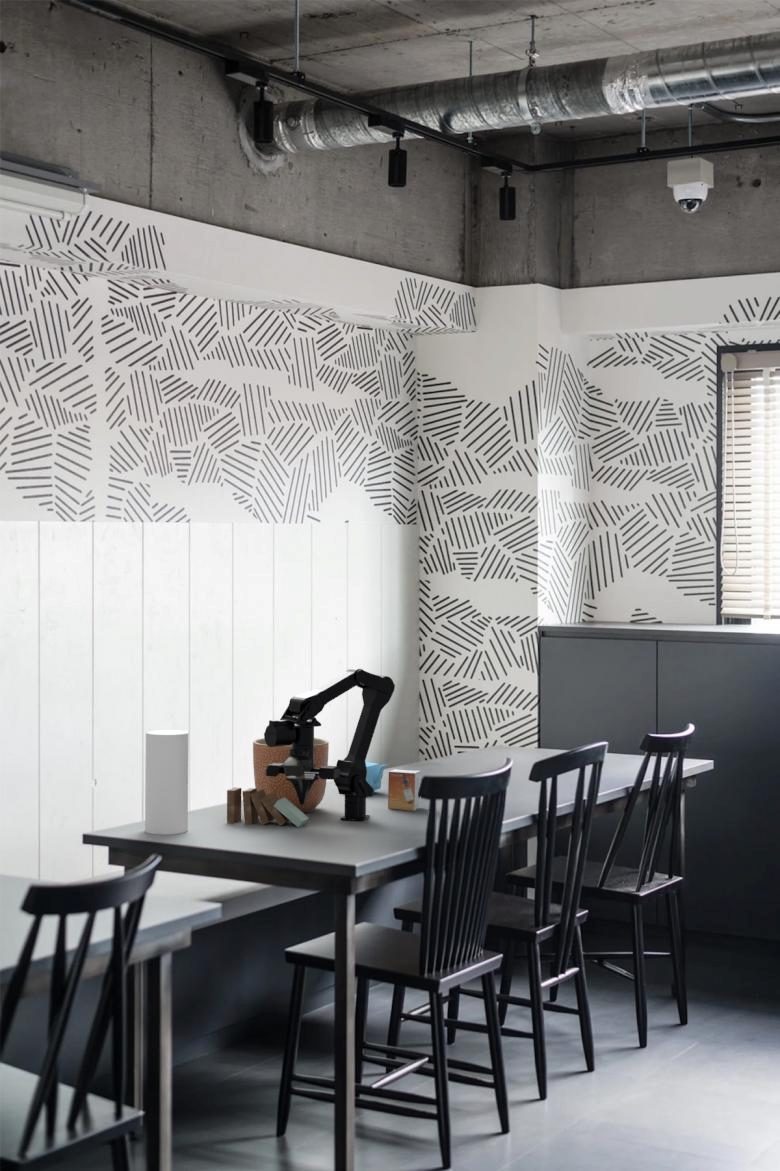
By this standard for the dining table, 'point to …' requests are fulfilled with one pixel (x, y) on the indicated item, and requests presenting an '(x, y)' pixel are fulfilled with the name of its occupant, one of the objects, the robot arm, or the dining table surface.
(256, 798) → the domino
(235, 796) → the domino
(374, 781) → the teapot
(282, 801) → the domino
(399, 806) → the small box
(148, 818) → the tall pillar cylinder
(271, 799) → the domino
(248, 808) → the domino
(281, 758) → the planter
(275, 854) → the dining table surface
